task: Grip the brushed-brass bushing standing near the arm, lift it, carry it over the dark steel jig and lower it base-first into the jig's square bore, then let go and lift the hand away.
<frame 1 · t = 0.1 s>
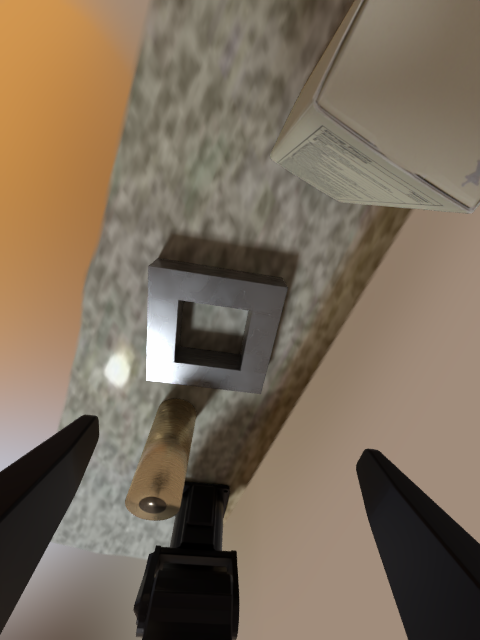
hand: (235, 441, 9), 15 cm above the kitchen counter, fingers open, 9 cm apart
jig: (213, 323, 23), on the kitchen counter
skincare box: (319, 151, 18), on the kitchen counter
bushing: (177, 413, 28), on the kitchen counter
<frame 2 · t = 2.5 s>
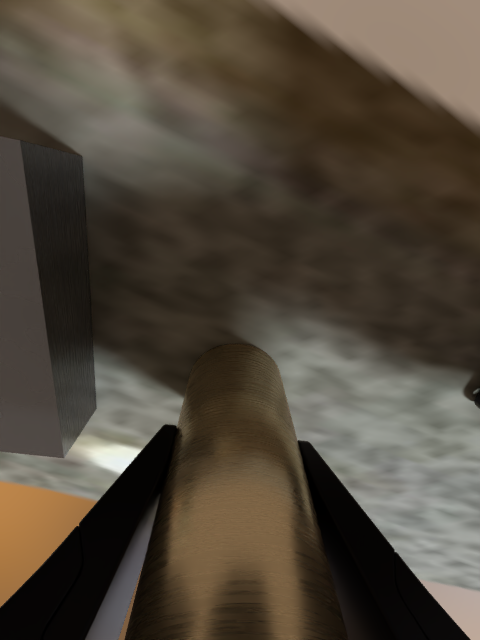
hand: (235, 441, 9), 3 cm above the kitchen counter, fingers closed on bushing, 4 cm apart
bushing: (235, 383, 12), on the kitchen counter, touching gripper
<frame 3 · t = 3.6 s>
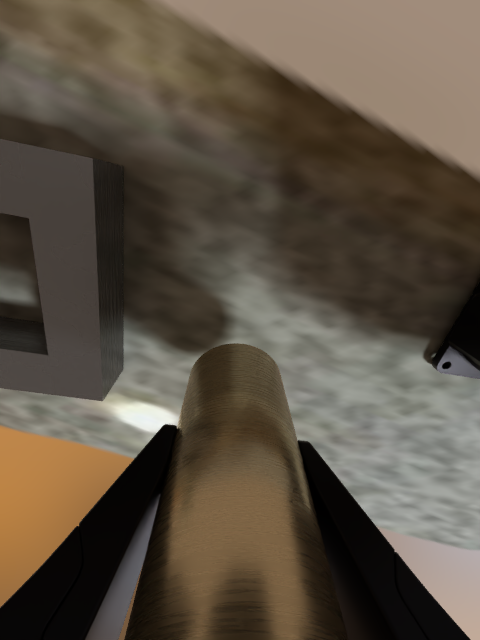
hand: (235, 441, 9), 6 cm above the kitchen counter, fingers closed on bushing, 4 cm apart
jig: (12, 265, 12), on the kitchen counter
bushing: (235, 382, 12), point 3 cm above the kitchen counter, touching gripper
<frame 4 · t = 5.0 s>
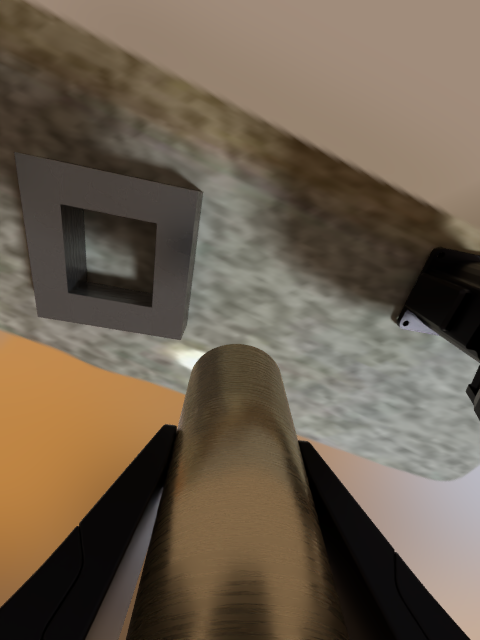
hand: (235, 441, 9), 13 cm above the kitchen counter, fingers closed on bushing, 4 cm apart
jig: (125, 252, 19), on the kitchen counter
bushing: (235, 383, 12), point 10 cm above the kitchen counter, touching gripper
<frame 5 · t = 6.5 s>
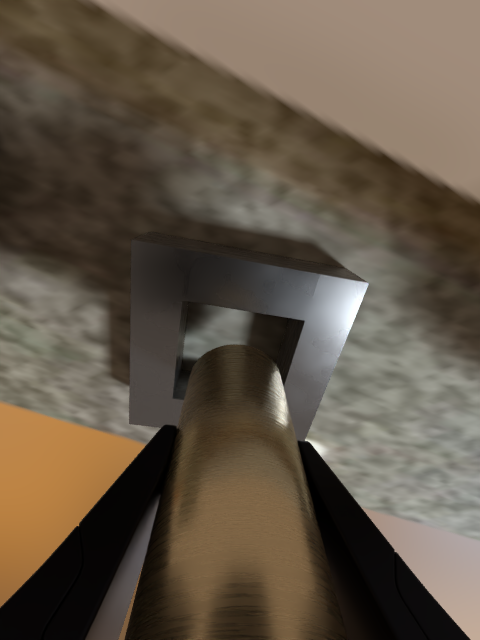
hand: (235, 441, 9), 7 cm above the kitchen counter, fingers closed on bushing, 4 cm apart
jig: (234, 337, 15), on the kitchen counter
bushing: (235, 383, 12), point 4 cm above the kitchen counter, touching gripper
when the fingers open (3 cm above the kitchen counter, at t = 7.6 s): bushing stays where it is, resting in jig.
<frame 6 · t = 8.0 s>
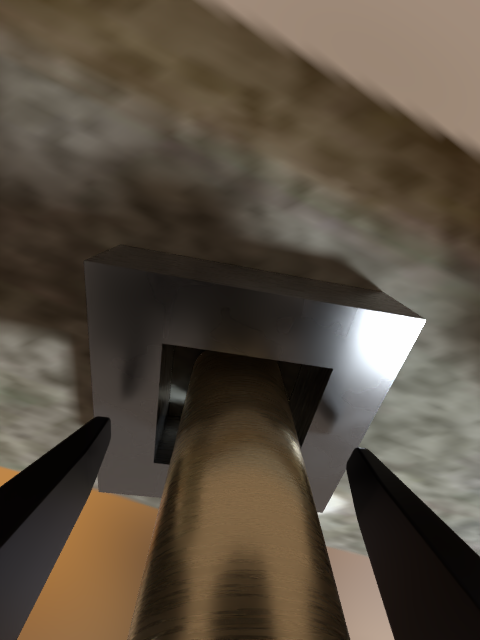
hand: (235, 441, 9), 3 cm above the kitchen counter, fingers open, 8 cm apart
jig: (234, 377, 12), on the kitchen counter
bushing: (236, 378, 12), resting in jig
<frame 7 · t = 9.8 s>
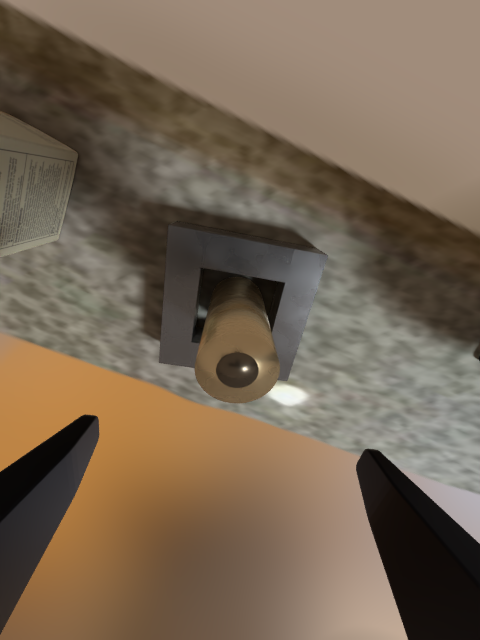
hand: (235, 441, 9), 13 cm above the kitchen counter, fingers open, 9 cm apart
jig: (235, 300, 20), on the kitchen counter
skincare box: (39, 185, 17), on the kitchen counter
bushing: (236, 301, 21), resting in jig
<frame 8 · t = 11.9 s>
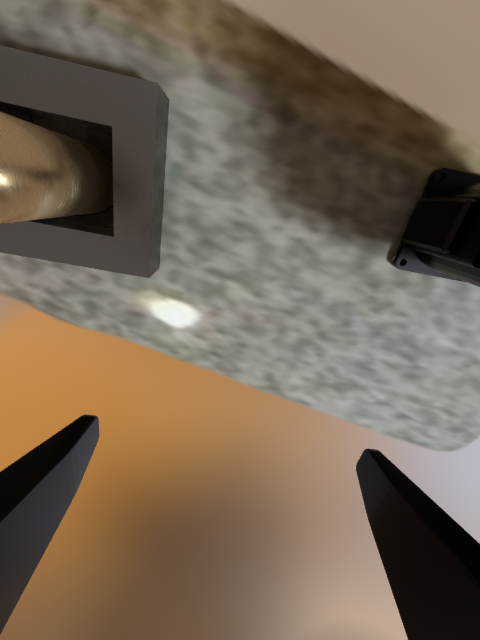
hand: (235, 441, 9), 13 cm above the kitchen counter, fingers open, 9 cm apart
jig: (84, 178, 17), on the kitchen counter
bushing: (85, 179, 17), resting in jig
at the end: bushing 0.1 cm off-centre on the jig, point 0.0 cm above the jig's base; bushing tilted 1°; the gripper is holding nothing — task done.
